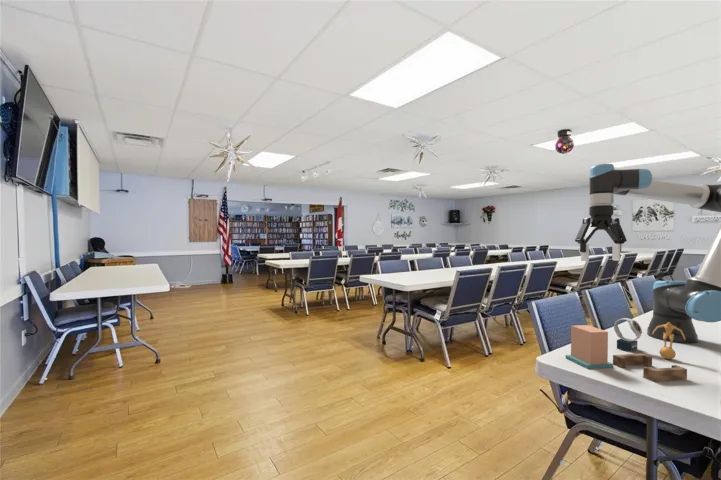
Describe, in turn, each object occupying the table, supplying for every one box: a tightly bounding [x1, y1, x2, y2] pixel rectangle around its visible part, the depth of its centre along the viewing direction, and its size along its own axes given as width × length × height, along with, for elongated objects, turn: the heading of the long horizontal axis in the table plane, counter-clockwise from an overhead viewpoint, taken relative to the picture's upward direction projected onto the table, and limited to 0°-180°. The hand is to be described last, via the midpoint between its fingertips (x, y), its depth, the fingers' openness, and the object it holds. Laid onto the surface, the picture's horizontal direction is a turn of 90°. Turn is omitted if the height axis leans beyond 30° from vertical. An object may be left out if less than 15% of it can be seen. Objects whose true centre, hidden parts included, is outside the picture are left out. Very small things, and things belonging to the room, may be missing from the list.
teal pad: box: [565, 354, 614, 369], centre depth 110 cm, size 9×9×1 cm
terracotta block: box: [570, 324, 609, 364], centre depth 109 cm, size 6×8×10 cm
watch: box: [613, 317, 643, 353], centre depth 123 cm, size 6×8×11 cm
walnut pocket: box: [612, 353, 688, 383], centre depth 102 cm, size 11×13×3 cm
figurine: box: [652, 322, 685, 360], centre depth 114 cm, size 8×6×12 cm
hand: (600, 260), depth 130 cm, fingers open, 13 cm apart
